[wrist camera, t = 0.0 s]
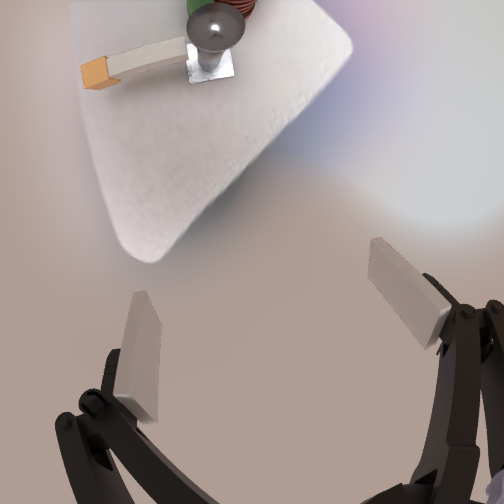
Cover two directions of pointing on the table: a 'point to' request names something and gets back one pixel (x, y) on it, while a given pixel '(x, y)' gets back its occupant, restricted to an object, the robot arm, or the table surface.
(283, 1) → the table surface
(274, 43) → the table surface
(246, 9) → the motor
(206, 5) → the post
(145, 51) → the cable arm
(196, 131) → the table surface
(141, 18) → the table surface
